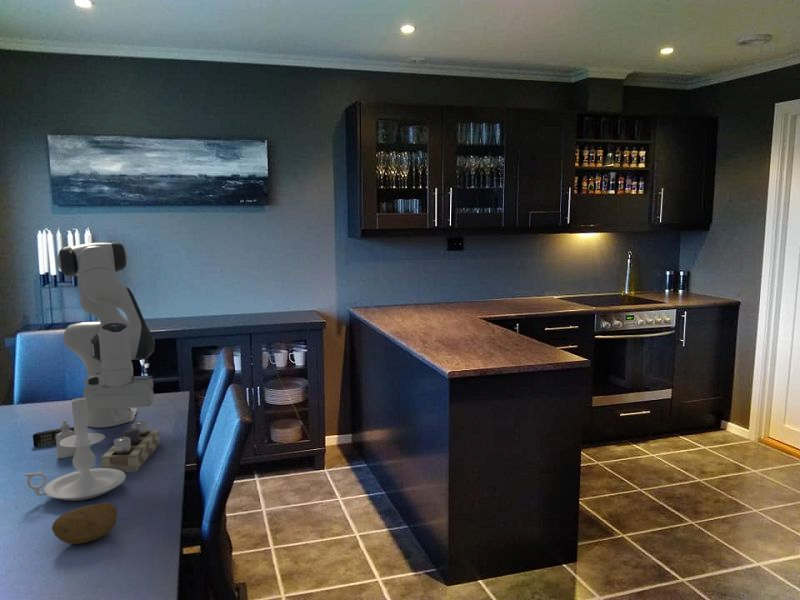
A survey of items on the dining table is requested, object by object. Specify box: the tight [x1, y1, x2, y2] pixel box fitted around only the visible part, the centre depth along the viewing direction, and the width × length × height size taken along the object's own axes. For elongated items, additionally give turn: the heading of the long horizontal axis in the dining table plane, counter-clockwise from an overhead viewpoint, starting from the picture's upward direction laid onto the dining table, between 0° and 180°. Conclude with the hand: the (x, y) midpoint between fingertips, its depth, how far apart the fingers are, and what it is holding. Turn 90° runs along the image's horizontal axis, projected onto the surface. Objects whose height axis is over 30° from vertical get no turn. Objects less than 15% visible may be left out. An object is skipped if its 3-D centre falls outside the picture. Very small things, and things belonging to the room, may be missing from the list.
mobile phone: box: [32, 426, 76, 448], centre depth 217 cm, size 5×3×15 cm
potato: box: [51, 502, 118, 545], centre depth 149 cm, size 10×14×8 cm
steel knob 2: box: [131, 420, 148, 437], centre depth 209 cm, size 5×5×5 cm
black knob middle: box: [122, 428, 139, 446], centre depth 201 cm, size 5×5×5 cm
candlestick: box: [24, 397, 126, 502], centre depth 173 cm, size 21×25×28 cm
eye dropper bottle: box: [55, 419, 76, 460], centre depth 204 cm, size 4×6×12 cm
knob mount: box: [100, 429, 160, 473], centre depth 202 cm, size 24×10×5 cm, turn 5°
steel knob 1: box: [113, 436, 131, 455], centre depth 193 cm, size 5×5×5 cm
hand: (120, 420), depth 192 cm, fingers closed
